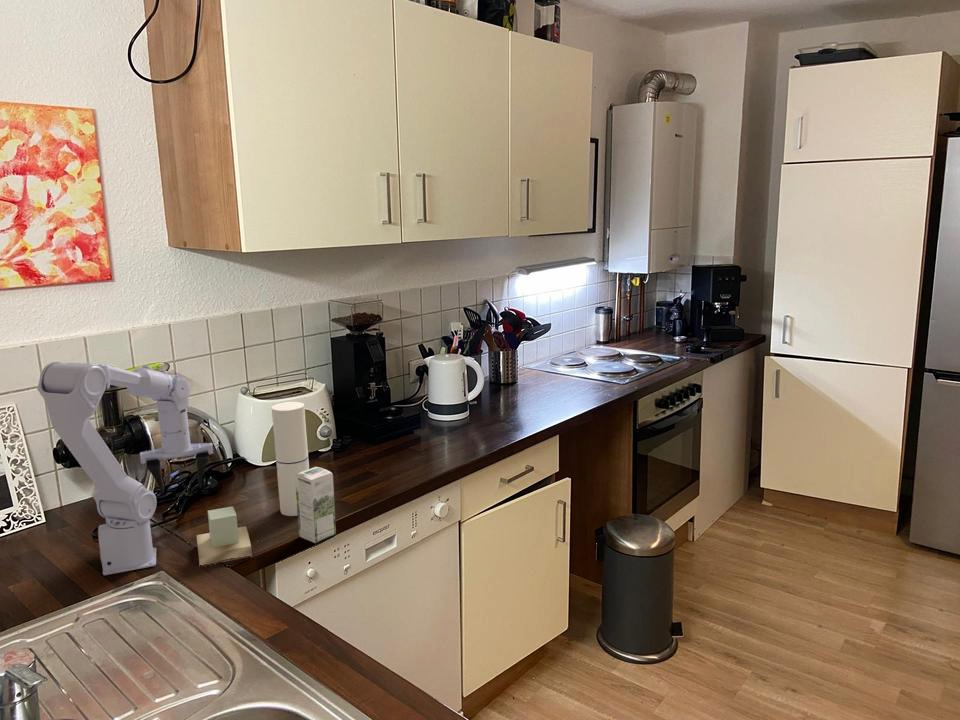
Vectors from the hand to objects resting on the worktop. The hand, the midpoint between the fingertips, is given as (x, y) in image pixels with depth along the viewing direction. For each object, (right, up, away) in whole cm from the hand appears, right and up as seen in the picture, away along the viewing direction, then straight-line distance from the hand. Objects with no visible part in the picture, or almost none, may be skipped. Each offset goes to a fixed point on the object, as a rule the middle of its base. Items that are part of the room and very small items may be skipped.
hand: (181, 488), depth 163 cm
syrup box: (+30, -10, -3) cm, 32 cm away
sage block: (+13, -9, -9) cm, 18 cm away
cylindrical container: (+22, -7, +11) cm, 26 cm away
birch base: (+12, -12, -9) cm, 19 cm away
